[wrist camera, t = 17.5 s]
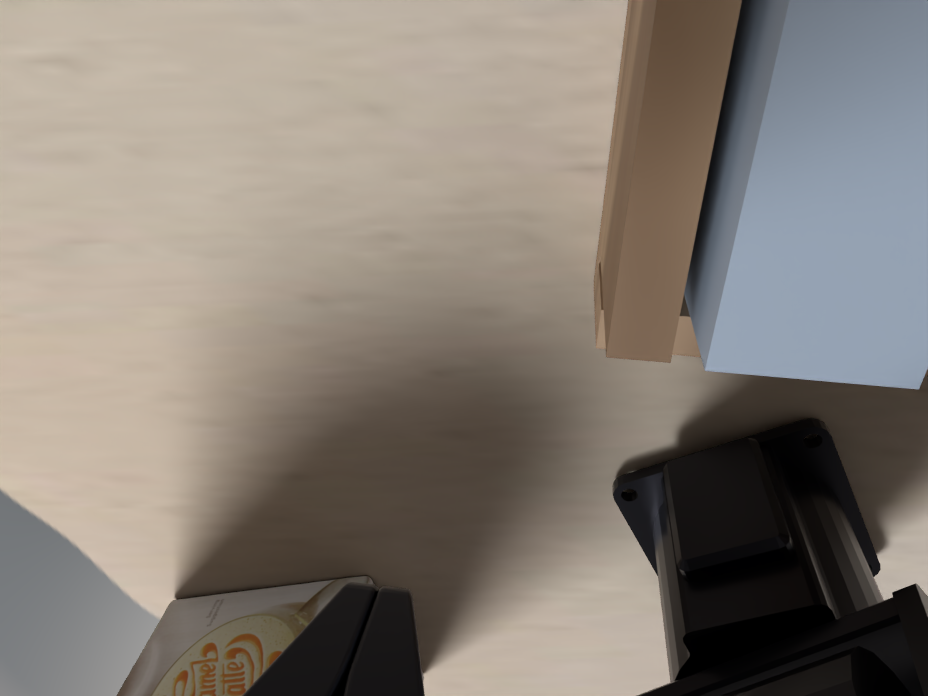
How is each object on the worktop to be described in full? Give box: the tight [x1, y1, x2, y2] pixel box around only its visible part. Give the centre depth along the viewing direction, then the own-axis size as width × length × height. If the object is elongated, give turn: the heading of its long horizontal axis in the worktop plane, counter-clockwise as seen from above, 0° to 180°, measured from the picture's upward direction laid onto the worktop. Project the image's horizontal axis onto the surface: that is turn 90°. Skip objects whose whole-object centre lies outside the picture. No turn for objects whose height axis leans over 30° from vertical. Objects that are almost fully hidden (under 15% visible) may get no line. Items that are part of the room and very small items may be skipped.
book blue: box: [684, 0, 928, 389], centre depth 13 cm, size 4×7×6 cm, turn 179°
